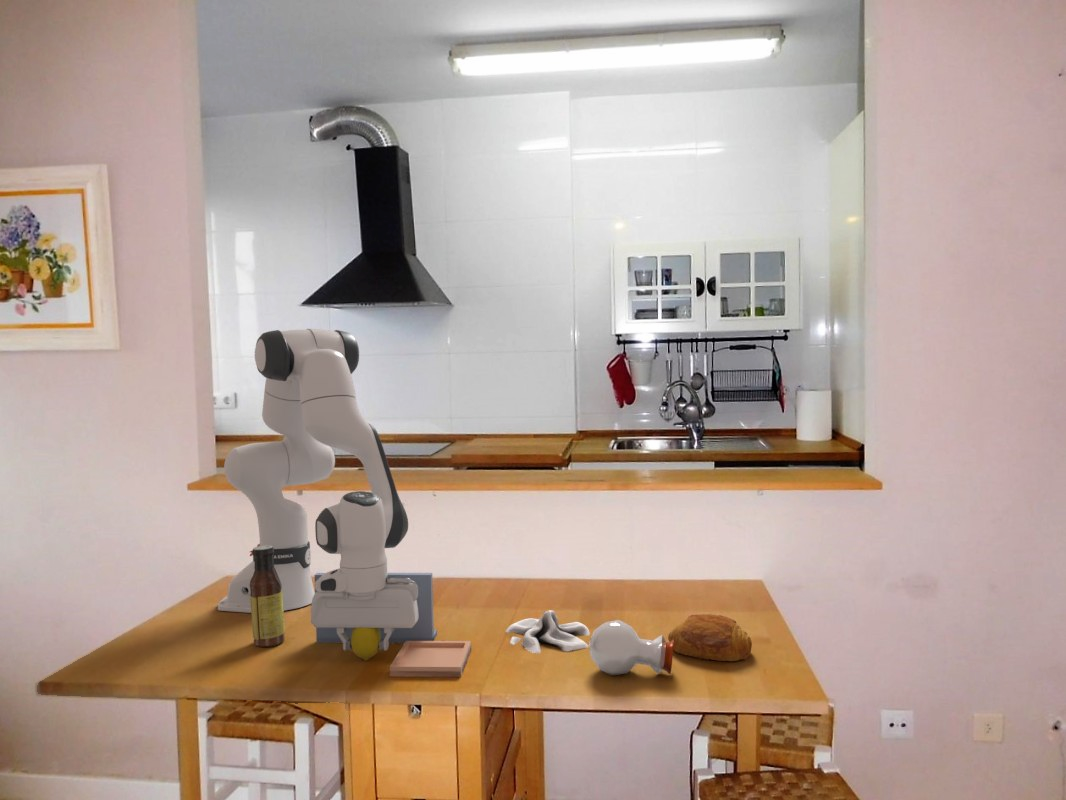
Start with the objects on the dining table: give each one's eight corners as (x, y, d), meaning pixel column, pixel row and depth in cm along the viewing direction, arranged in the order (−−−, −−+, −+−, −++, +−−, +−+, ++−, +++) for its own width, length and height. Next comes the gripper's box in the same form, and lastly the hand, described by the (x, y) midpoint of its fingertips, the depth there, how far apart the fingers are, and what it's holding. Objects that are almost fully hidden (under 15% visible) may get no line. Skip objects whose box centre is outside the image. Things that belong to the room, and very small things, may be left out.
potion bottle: (585, 675, 141) (667, 689, 138) (584, 661, 133) (671, 676, 130) (593, 625, 146) (672, 638, 143) (591, 609, 137) (676, 623, 135)
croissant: (739, 682, 139) (745, 640, 138) (659, 655, 146) (663, 615, 145) (759, 653, 151) (764, 615, 150) (684, 630, 159) (688, 593, 158)
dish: (390, 676, 138) (389, 666, 138) (406, 649, 151) (406, 640, 151) (461, 676, 138) (460, 667, 138) (471, 650, 151) (471, 641, 151)
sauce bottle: (291, 639, 159) (288, 544, 158) (272, 649, 153) (268, 551, 152) (265, 636, 161) (262, 542, 160) (245, 646, 155) (241, 549, 154)
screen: (316, 642, 156) (314, 575, 156) (324, 634, 161) (322, 568, 161) (432, 643, 155) (430, 574, 154) (437, 634, 160) (435, 568, 159)
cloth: (508, 622, 168) (508, 595, 168) (593, 623, 166) (592, 596, 166) (492, 661, 146) (491, 630, 146) (589, 663, 144) (589, 631, 144)
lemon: (374, 666, 143) (372, 624, 143) (346, 664, 144) (345, 623, 144) (385, 655, 149) (384, 615, 148) (359, 654, 150) (357, 613, 149)
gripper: (421, 573, 148) (423, 643, 149) (318, 573, 149) (320, 643, 150) (414, 582, 142) (416, 655, 142) (306, 582, 143) (308, 655, 144)
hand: (366, 649), depth 146 cm, fingers closed on lemon, 5 cm apart
